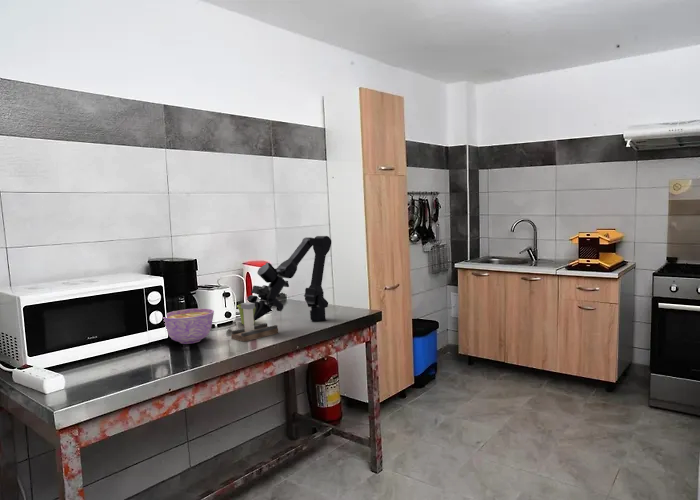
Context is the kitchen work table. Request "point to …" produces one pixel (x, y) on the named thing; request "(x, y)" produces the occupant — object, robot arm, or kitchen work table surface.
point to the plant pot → (243, 313)
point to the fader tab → (248, 316)
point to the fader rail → (254, 332)
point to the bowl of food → (189, 325)
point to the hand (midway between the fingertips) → (254, 319)
